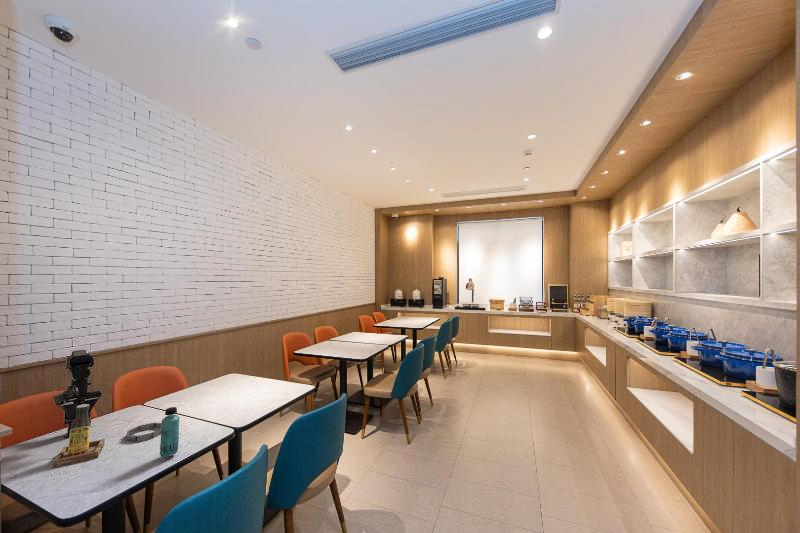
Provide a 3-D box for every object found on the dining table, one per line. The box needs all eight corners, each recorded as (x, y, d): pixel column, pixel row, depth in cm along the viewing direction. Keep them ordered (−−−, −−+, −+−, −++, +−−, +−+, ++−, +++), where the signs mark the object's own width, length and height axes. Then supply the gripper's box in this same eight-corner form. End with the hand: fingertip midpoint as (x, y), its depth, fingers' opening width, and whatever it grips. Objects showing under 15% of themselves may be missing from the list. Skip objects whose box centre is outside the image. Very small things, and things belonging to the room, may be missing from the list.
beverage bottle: (165, 452, 136) (167, 405, 137) (182, 452, 136) (183, 404, 137) (155, 461, 129) (157, 411, 130) (172, 460, 130) (174, 411, 131)
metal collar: (128, 432, 153) (128, 427, 154) (164, 425, 161) (164, 420, 162) (124, 445, 142) (124, 439, 142) (163, 436, 150) (163, 431, 150)
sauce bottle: (66, 459, 128) (68, 410, 129) (68, 453, 133) (71, 405, 134) (88, 454, 133) (91, 406, 134) (90, 448, 137) (92, 401, 138)
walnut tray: (63, 453, 135) (63, 447, 135) (104, 444, 142) (104, 438, 142) (52, 468, 124) (53, 461, 124) (97, 457, 132) (98, 451, 132)
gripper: (41, 389, 139) (39, 426, 136) (74, 381, 136) (72, 420, 132) (72, 384, 150) (70, 419, 146) (103, 377, 147) (102, 413, 143)
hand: (78, 418), depth 142 cm, fingers open, 9 cm apart
